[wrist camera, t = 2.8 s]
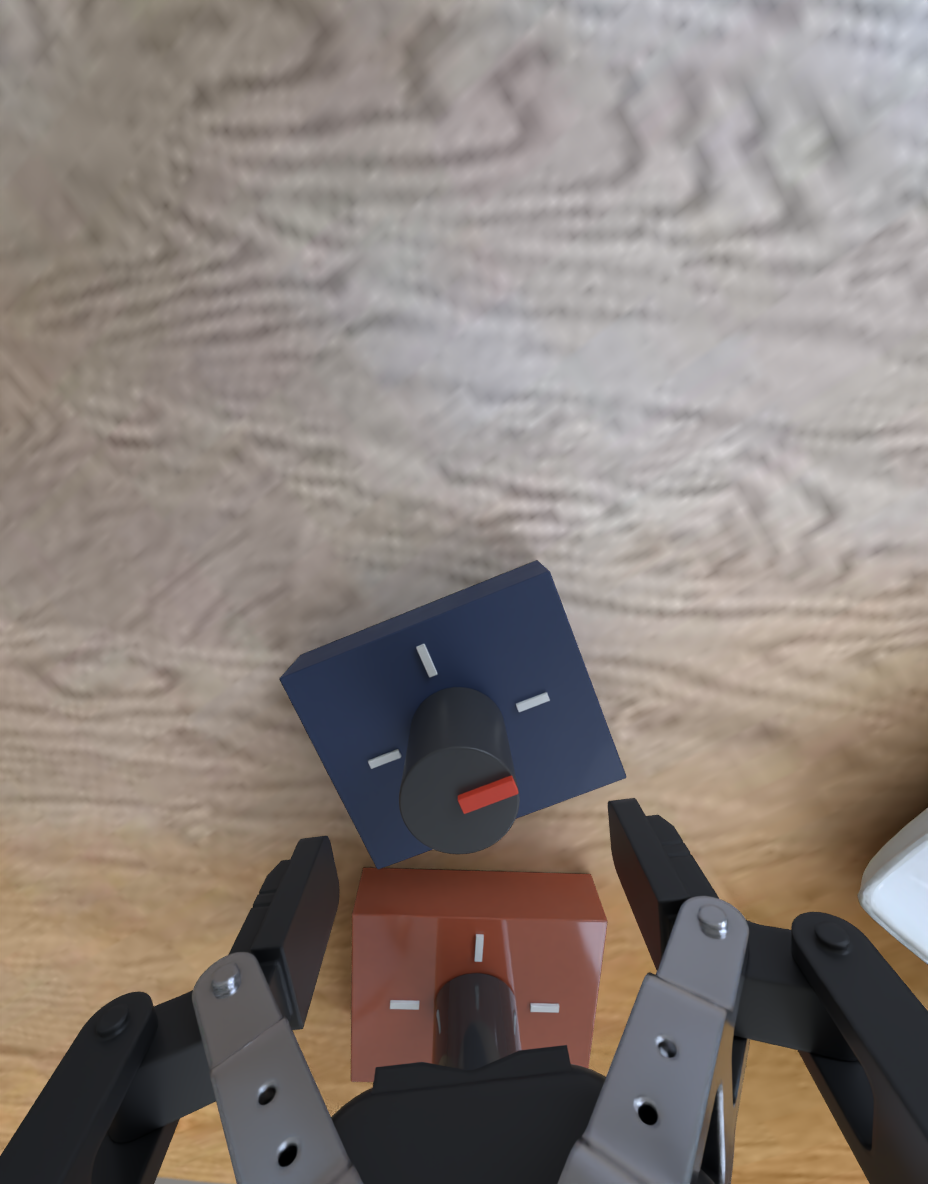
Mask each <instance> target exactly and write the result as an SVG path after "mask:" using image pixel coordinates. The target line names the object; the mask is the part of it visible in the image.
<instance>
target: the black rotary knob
mask: <svg viewBox="0 0 928 1184" xmlns="http://www.w3.org/2000/svg"><path fill="white" fill-rule="evenodd" d="M519 802H520V797H519V789H518V784H517V779H516V775H515V770H514V765H513V761H512V756H511V751H510V747H509V742H508V737H507V733H506V728H505V723H504V719H503V716H502V714H501V712H500V710H499V708H498V707H497V705H496V704H495V703H494V702H493V701H492V700H491V699H490V698H489V697H488V696H486V695H484V694H483V693H481V692H479V691H477V690H474V689H470V688H465V687H452V688H447V689H443V690H440V691H438V692H436V693H434V694H432V695H431V696H429V697H428V698H427V699H425V700H424V701H423V702H422V703H421V704H420V706H419V707H418V709H417V710H416V712H415V714H414V717H413V720H412V724H411V730H410V735H409V741H408V747H407V752H406V758H405V764H404V769H403V775H402V781H401V786H400V792H399V809H400V813H401V816H402V819H403V821H404V823H405V825H406V827H407V828H408V830H409V831H410V832H411V834H412V835H413V836H414V837H415V838H416V839H417V840H419V841H420V842H421V843H423V844H424V845H426V846H428V847H429V848H432V849H434V850H437V851H440V852H443V853H449V854H468V853H474V852H477V851H480V850H483V849H485V848H488V847H490V846H491V845H493V844H495V843H496V842H497V841H499V840H500V839H501V838H502V837H503V836H504V835H505V834H506V833H507V832H508V830H509V829H510V828H511V826H512V824H513V823H514V821H515V818H516V816H517V813H518V809H519Z"/></svg>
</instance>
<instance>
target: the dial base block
mask: <svg viewBox="0 0 928 1184" xmlns="http://www.w3.org/2000/svg"><path fill="white" fill-rule="evenodd" d="M606 929H607V918H606V916H605V913H604V910H603V907H602V904H601V901H600V899H599V896H598V893H597V890H596V887H595V884H594V882H593V879H592V876H591V874H571V873H537V872H503V871H469V870H435V869H401V868H381V869H377V868H367V867H364V868H363V870H362V874H361V878H360V882H359V887H358V891H357V895H356V899H355V904H354V908H353V912H352V974H351V1081H352V1082H374V1075H375V1068H376V1067H382V1066H391V1065H399V1064H408V1063H416V1062H426V1063H431V1064H432V1038H433V1012H434V1002H435V998H436V996H437V994H438V992H439V991H440V989H441V988H442V987H443V986H444V985H445V984H446V983H447V982H448V981H450V980H451V979H453V978H455V977H457V976H460V975H463V974H468V973H484V974H489V975H492V976H495V977H497V978H499V979H500V980H502V981H503V982H504V983H506V984H507V985H508V986H509V988H510V989H511V990H512V992H513V994H514V997H515V1000H516V1007H517V1015H518V1023H519V1031H520V1040H521V1048H522V1050H528V1049H536V1048H545V1047H553V1046H562V1045H567V1048H568V1053H569V1058H570V1063H571V1064H574V1065H579V1066H582V1067H585V1068H588V1067H589V1060H590V1052H591V1044H592V1037H593V1029H594V1021H595V1014H596V1006H597V998H598V991H599V983H600V975H601V967H602V960H603V952H604V944H605V937H606Z"/></svg>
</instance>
